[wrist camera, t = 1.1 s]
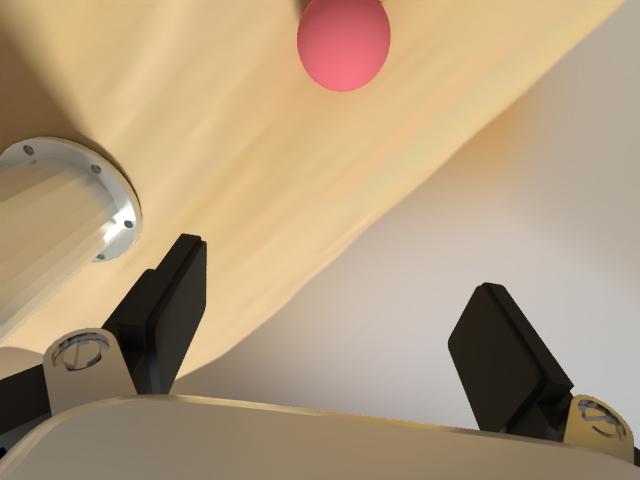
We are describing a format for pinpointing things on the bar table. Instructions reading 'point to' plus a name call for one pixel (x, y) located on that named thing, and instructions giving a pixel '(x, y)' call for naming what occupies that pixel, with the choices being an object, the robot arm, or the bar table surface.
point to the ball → (343, 42)
